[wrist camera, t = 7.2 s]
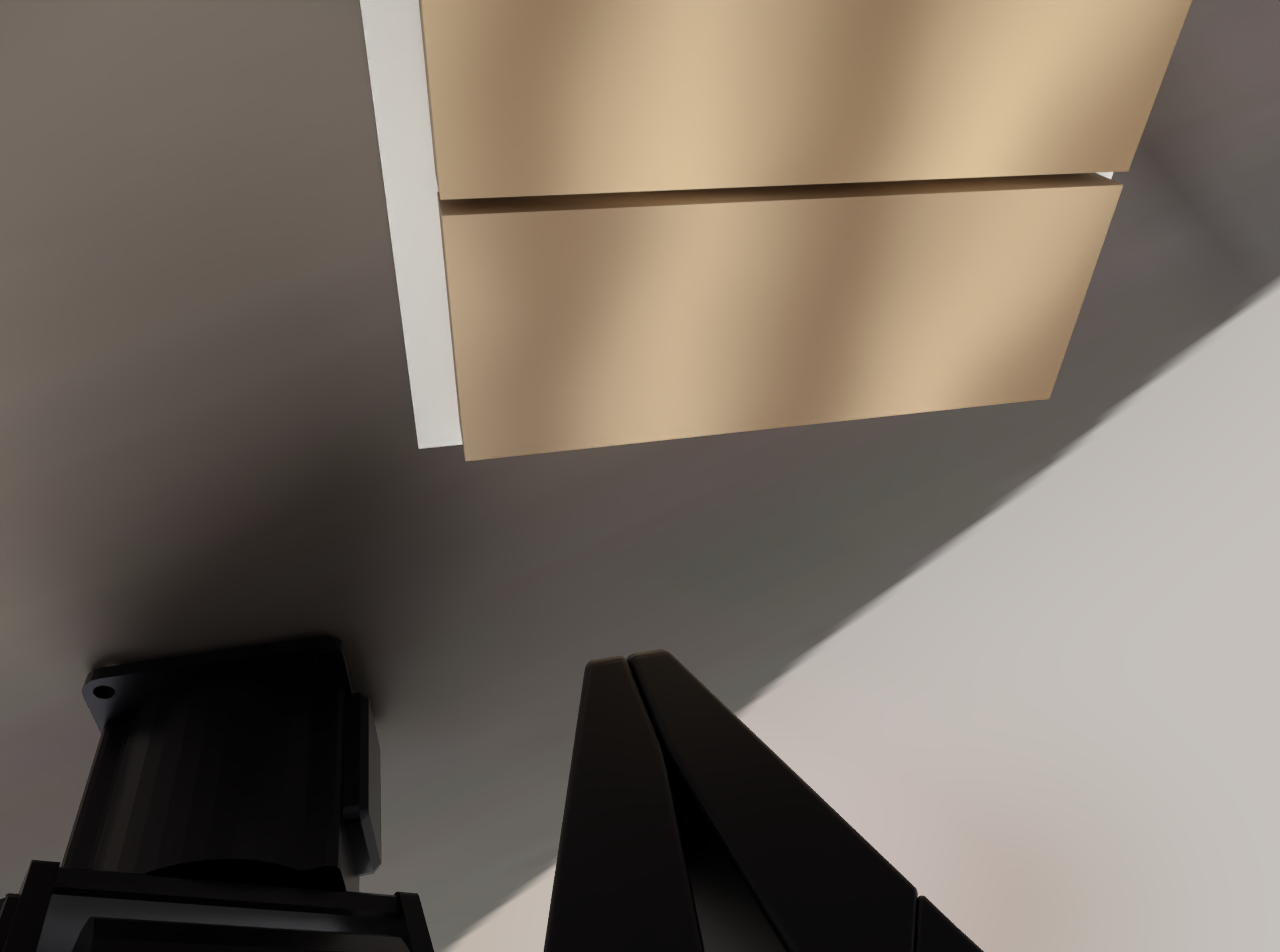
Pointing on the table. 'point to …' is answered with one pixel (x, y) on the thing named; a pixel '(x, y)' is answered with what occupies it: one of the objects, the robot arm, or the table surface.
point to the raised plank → (784, 91)
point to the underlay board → (415, 212)
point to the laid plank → (760, 305)
